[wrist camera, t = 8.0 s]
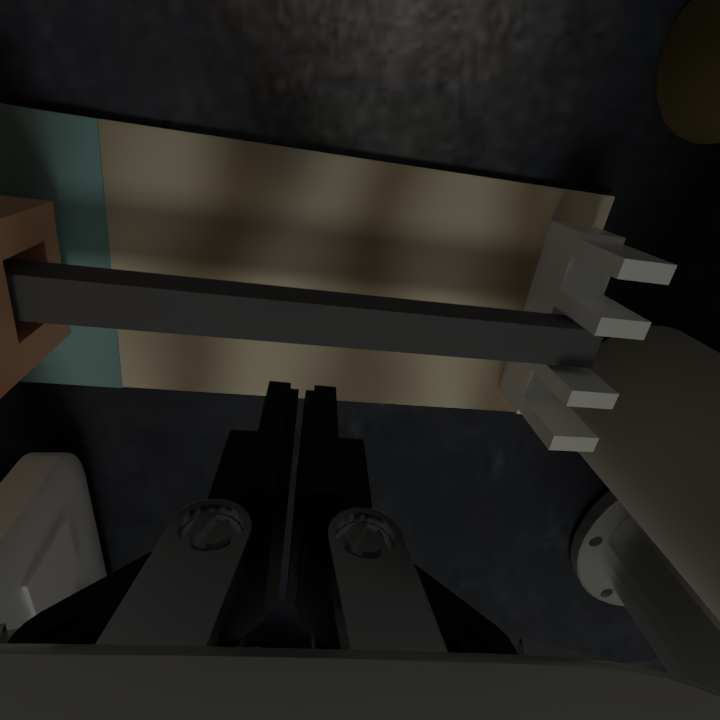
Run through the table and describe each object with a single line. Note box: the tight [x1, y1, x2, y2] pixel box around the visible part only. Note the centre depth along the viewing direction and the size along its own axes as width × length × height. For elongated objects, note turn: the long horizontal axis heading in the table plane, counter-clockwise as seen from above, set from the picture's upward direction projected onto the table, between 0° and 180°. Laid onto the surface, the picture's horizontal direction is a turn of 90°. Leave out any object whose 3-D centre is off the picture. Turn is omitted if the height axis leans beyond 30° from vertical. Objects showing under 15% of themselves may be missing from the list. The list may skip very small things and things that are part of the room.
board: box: [0, 103, 615, 412], centre depth 20 cm, size 33×11×1 cm, turn 82°
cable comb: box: [498, 221, 677, 452], centre depth 20 cm, size 2×8×6 cm, turn 172°
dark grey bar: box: [3, 258, 604, 368], centre depth 17 cm, size 30×2×2 cm, turn 82°
